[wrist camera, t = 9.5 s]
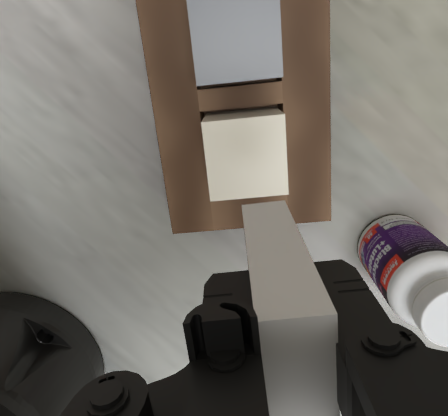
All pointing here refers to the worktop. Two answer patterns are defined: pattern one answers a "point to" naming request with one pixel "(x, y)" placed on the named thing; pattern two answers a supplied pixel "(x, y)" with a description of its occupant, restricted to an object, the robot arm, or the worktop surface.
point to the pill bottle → (409, 272)
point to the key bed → (239, 100)
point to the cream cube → (245, 153)
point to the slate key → (235, 40)
